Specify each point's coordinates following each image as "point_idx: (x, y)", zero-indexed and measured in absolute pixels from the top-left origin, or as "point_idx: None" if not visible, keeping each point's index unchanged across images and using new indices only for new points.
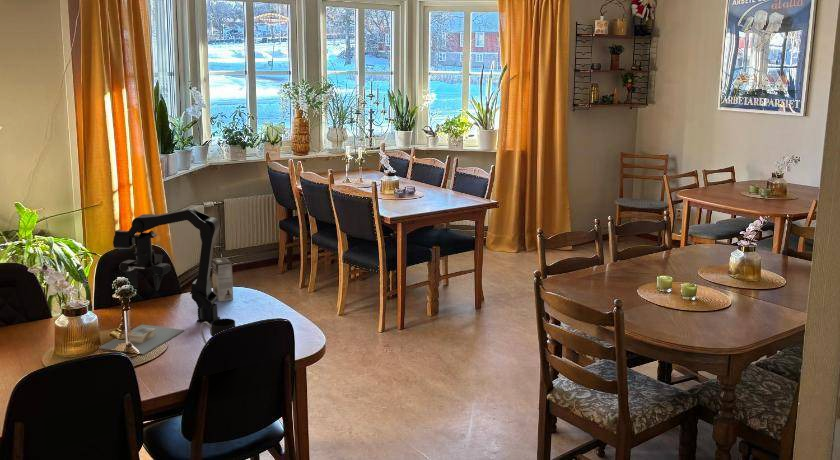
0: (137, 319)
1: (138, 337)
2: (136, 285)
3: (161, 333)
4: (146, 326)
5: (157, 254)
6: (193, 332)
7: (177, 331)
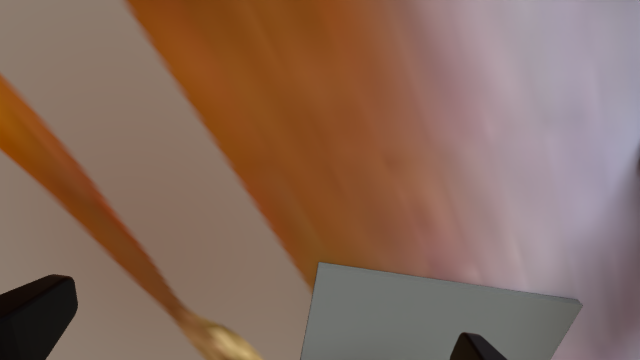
0: (234, 171)
1: None
2: (41, 324)
3: None
4: (358, 287)
5: None
6: (629, 306)
7: (549, 326)
